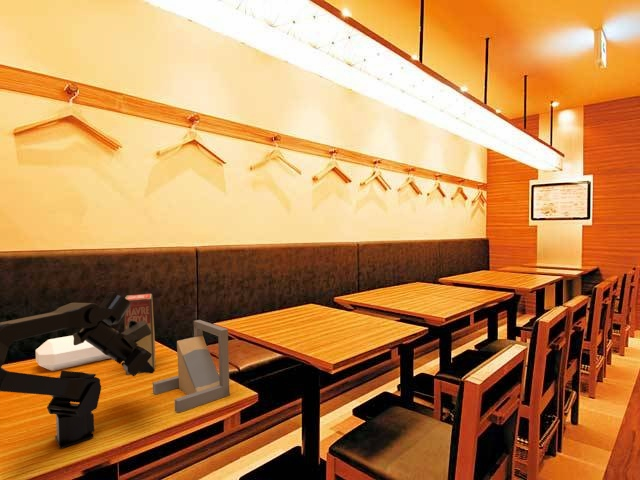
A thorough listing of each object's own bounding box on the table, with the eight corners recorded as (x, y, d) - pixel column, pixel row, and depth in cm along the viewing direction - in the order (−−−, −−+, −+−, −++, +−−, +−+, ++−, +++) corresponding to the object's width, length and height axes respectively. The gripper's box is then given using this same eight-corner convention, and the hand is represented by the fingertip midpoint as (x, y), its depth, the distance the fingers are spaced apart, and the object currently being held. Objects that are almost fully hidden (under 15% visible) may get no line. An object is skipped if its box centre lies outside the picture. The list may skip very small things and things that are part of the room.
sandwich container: (201, 406, 103) (199, 351, 102) (177, 390, 114) (176, 340, 113) (229, 396, 109) (227, 344, 108) (204, 381, 120) (202, 334, 119)
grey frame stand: (177, 412, 98) (175, 340, 98) (153, 392, 111) (151, 328, 111) (229, 395, 108) (227, 329, 108) (201, 378, 121) (199, 319, 121)
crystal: (129, 331, 146) (40, 348, 126) (130, 356, 146) (41, 376, 127) (118, 325, 156) (33, 340, 137) (118, 348, 156) (34, 366, 137)
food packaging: (127, 363, 138) (125, 295, 137) (155, 359, 141) (153, 292, 141) (124, 375, 125) (122, 300, 125) (155, 371, 129) (153, 298, 129)
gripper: (141, 318, 92) (187, 353, 99) (120, 308, 105) (161, 339, 113) (106, 358, 86) (157, 392, 94) (88, 342, 100) (134, 372, 108)
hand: (153, 371), depth 102 cm, fingers closed
